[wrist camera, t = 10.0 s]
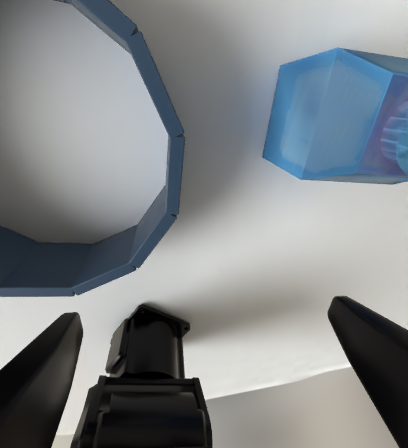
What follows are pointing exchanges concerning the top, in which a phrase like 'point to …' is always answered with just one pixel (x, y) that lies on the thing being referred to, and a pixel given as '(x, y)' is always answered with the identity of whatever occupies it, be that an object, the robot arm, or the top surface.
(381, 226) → the top surface
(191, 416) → the robot arm
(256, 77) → the top surface
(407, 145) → the perfume bottle
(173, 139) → the blue round bin
